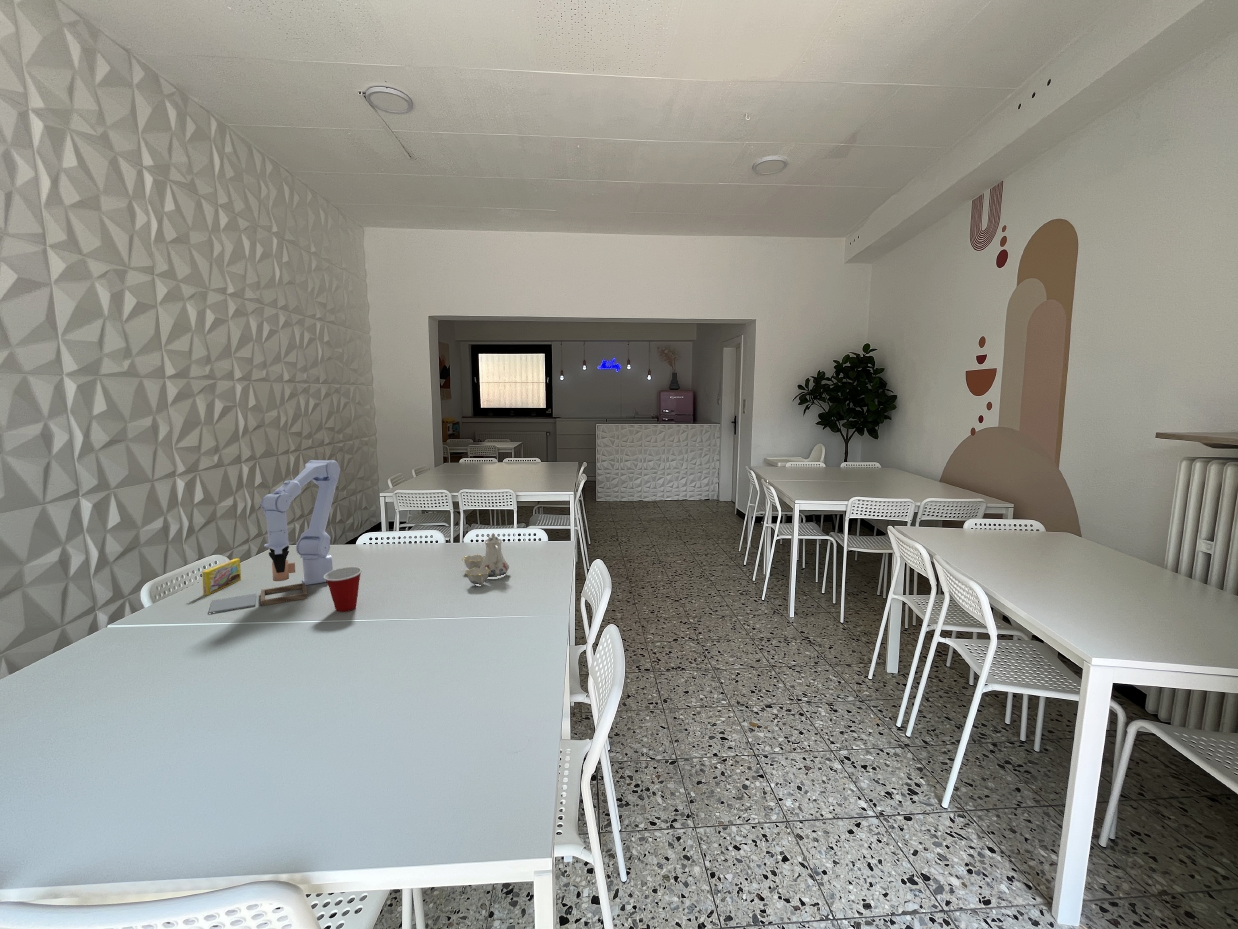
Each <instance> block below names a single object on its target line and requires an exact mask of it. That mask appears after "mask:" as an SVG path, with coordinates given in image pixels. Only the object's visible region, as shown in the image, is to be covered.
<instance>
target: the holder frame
mask: <svg viewBox="0 0 1238 929" xmlns="http://www.w3.org/2000/svg"><path fill="white" fill-rule="evenodd" d="M299 589H302V593H298V594H290V595H283V596H280V597H273V598H268V599H266V595H268V594H269V595H270V594H277V593H280V592H287V591H293V590H299ZM304 599H308V591H307V585H305V583H303V582H302V583H295V584H289V585H282V586H275V587H269V588H263V589H261V590H260V606H267V605H274V604H280V603H285V602H291V601H292V602H293V601H298V600H304Z"/></svg>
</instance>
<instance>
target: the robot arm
mask: <svg viewBox="0 0 1238 929" xmlns="http://www.w3.org/2000/svg"><path fill="white" fill-rule="evenodd" d="M340 474H341V467H340V465H339V462H338V461H336V460H333V459H331V460H322V459H321V460H319V459H318V460H316V459H311V460H309V461H308V462H306V463H305V464H304V469H303V470H302V471H301V472H300V473H298V475H297V476H296V477H295V478H294V479H293V480H291V479H290V480H285V481H283V483H282V485H281V486H279V487H278V488H277V489H275V490H274V491H273V492H272V493H268V494H266V495H265V496H263V498H262V500H261V501H260V502H261V503H260V504H259V505H260V509H261V510H262V511H263V515H264V516H265V518H266V519H265V520H266V530H267V543H265V544H264V545H263V546H264V548H269V552H268V556H269V558H270V559H271V560H272V562H273V563H274V566H275V569H276V572H277V573H281V572H284V571H285V563H286V560H287V558H288V555H289V554H290V551H289V549H290V540H289V532H288V516H287V510H289V508H290V506H291V503H293V500H294V499H295V498H296V497H298V496H299V495H300V494H301V493H302V488H303V487H304V486H305V485H307V484H308V483H309V482H311V481H312V482H313V483H314V484H315V485H317V486H318V490H317V495H316V498H315V502H314V503H315V504H314V507H313V510H312V515H311V518H310V522H309V526H308V529H306V530H305V531H303V532H302V533H300V538H299V539H298V541H297V543H296V545H295V550H296V551H295V552H296V553H297V555H298V556H299V557H300V559H302V571H303V577H302V583H305V585H306V586H309V585H315V584H321V583H327V581H326V580H325V579H324V575H325V574H326V573H328V572H330V571H332V570H334V569H333V559H332V555H331V554H329V552H330V549H331V538H332V537H331V536H330V535H329V534H328V533H327V532H326V528H327V525H328V520H329V517H330V513H331V508H332V504H333V500H334V496H335V492H336V488H337V485H338V481H339V477H340Z"/></svg>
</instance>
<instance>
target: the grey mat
mask: <svg viewBox="0 0 1238 929" xmlns="http://www.w3.org/2000/svg"><path fill="white" fill-rule="evenodd" d="M256 602H257V593H250V594H243V595H237V596H231V597H225V598H220V599H219V598H218V599H212V600H211V604H210V607H209V610H208V614H209V613H212V614H214V613H213V612H218V613H222V612H221V611H224V612H229V611H228V610H230V611H234V610H233V609H236V610H240V609H239V608H242V609H248V608H254V607H256V604H257V603H256ZM247 607H248V608H247Z"/></svg>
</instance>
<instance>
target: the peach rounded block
mask: <svg viewBox="0 0 1238 929" xmlns="http://www.w3.org/2000/svg"><path fill="white" fill-rule="evenodd" d="M271 568H272V569H271V570H272V581H273V582H284V581H287V580H289V579H290V574H295V573H296V563H295V562H289V560H288V559H286V563H285V571H284V572H281V573H277V572H276V569H275V566H274V563H273V561H272V562H271Z"/></svg>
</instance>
